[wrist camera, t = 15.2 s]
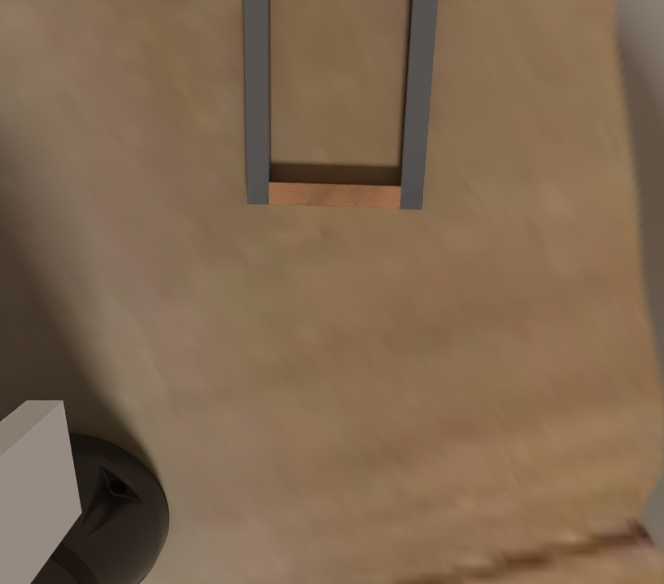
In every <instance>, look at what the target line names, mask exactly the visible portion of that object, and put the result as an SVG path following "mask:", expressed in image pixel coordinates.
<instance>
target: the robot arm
mask: <svg viewBox="0 0 664 584" xmlns="http://www.w3.org/2000/svg"><path fill="white" fill-rule="evenodd" d="M168 529H169V514H168V508H167V504H166V500H165V497H164V495H163V493H162V490H161V488H160V487H159V485H158V483H157V482H156V480H155V479H154V477H153V476H152V475H151V473H150V472H149V471H148V470H147V469H146V468H145V467H144V466H143V465H142V464H141V463H140V462H139V461H138V460H137V459H135V458H134V457H133V456H131V455H130V454H128V453H127V452H125V451H124V450H122V449H120V448H119V447H117V446H115V445H113V444H110V443H108V442H105V441H102V440H100V439H96V438H92V437H88V436H82V435H69V434H68V428H67V422H66V416H65V410H64V404H63V400H27V401H25V402H24V403H23V404H22V405H20V406H19V407H18V408H17V409H15V410H14V411H13V412H12V413H10V414H9V415H8V416H7V417H5V418H4V419H3V420H2V421H0V584H139V583H140V582H141V581H143V580H144V578H145V577H146V576H147V575H148V573H149V572H150V571H151V569H152V568H153V566H154V564H155V562H156V560H157V558H158V556H159V554H160V552H161V550H162V548H163V546H164V543H165V541H166V538H167V534H168Z"/></svg>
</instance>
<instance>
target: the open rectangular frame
mask: <svg viewBox="0 0 664 584" xmlns="http://www.w3.org/2000/svg"><path fill="white" fill-rule="evenodd" d="M437 2H438V0H412V4H411V20H410V35H409V51H408V67H407V83H406V98H405V114H404V130H403V146H402V161H401V177H400V185H370V184H339V183H308V182H277V181H271V47H270V0H244V40H245V96H246V151H247V204H268V205H297V206H327V207H357V208H386V209H416V210H422V200H423V186H424V173H425V160H426V147H427V134H428V121H429V107H430V94H431V81H432V68H433V55H434V42H435V29H436V15H437Z"/></svg>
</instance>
